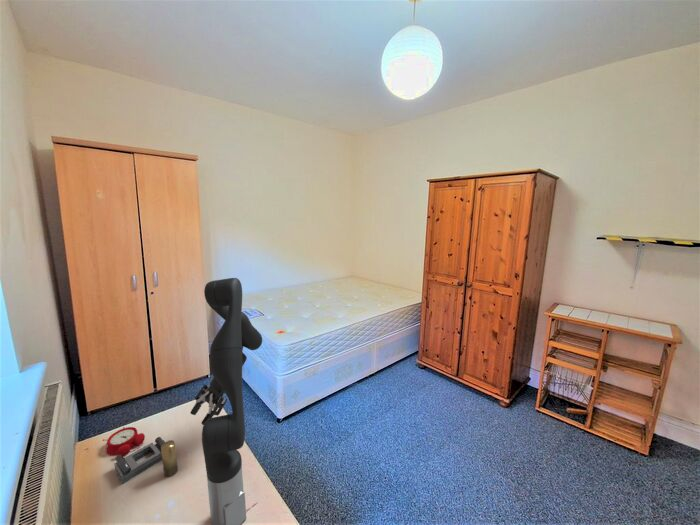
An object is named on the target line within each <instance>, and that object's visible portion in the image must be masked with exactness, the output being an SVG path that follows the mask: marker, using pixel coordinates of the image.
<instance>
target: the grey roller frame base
mask: <svg viewBox="0 0 700 525" xmlns="http://www.w3.org/2000/svg"><path fill="white" fill-rule="evenodd" d="M165 442H166V441H165V440H164V439H162V437H161V436H158V437H156V438H155V441H154V443H155V444H154V443H153V442H150V443H148V444H146V445H145V446H143V447H141V448H138V449H137V450H135V451H133V452H131V453H130V454H129V455H126V456H123V455H122V454H120V455H118V456H117V455H116V457H115V461H116V462H115V463H113V465H114V471H115V473H116V475H117V476H118V479H119V480H120V482H121V484H125V483H126V482H128V481H130V480H131V479H133V478H135V477H136V476H138V475H140V474H141V473H143V472H145V471H146V470H148V469H150V468H151V467H153V466H154V465H156V464H158V463H159V462H161V461H162V453H161V446H162V444H163V443H165ZM149 454H151V456H150V457H148V458H146V459H144V460H143V461H141V462H139V463H137V461H139V460H141V459H143V458H144V457H146V456H148V455H149Z"/></svg>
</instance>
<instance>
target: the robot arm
mask: <svg viewBox="0 0 700 525" xmlns="http://www.w3.org/2000/svg"><path fill="white" fill-rule="evenodd" d="M203 292H204V299H205V300H206V303H207V305H208V306H209V307H210V308H211V309H212V310H213V311H214V312H215V313H216V314H217V315H219V317H221V318H222V319H223V320H224V322H223V324H222V326H220V329H219V331H218V332H217V334H216V335H215V337H214V339H213V340H212V342H211V345H210V349H209V369H210V372H211V375H212V379H210V382H209V384H208V385H207V384H203V386H202V387H201V389H200V390H199V391H198V393H197V394H196V396H195V397H194V400H195V404H194V406H193V407H192V408H191V410H190V411H189V412H190V413H189V414H191V415H193V416H196V415H197V413H198V412H199V410H200V409H201V407H202V405H203V404H205V403H206V404H207V405H208V412H207V413H206V415H205V416H204V418H203V419H202V421H201V425H202V430H201V444H202V451H203V452H202V453H203V456H204V463H205V472H206V481H207V491H208V502H209V510H210V511H209V512H210V513H209V514H210V522H211V525H239V524H240V525H242V524H243V523H244V522H245V521H246V520H247V507H246V493H245V491H244V480H243V479H244V478H243V465H242V463H243V461H242V459H243V458H242V455H241V452H240V451H239V450H240V449H241V448H243V446H244V443H245V441H246V440H245V439H246V425H245V424H246V423H245V422H246V421H245V410H244V399H243V398H244V396H243V366H244V365H245V363H246V361H247V359H248V358H247V357H248V356H247V355H246V354H245V353H244V352H243V350H244V348H246V349H248V350H250V351H256V350H258V349H259V348H260V347H261V346H262V344H263V337H262V334H261V333H260V331H259V330H257V329H256V327H254V325H253V324H252V322H251V320H250V319H249V317H248V315H247V314H246V313H245V312H243V311H242V309H243V287H242V282H241V281H240V279H239V278H238V277H229V278H223V279H215V280H211V281H209V282H206V284H205V285H204V291H203ZM224 394H225V396H226V397H227V398H225V397H223V396H224ZM228 401H229V403H230V404H229V405H230V406H231V413H229V414H224V415H220V413H221V411H223V408H224V407H225V405H226V403H227V402H228ZM245 519H246V520H245ZM244 520H245V521H244ZM243 521H244V522H243ZM242 522H243V523H242Z"/></svg>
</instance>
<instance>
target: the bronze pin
mask: <svg viewBox="0 0 700 525" xmlns="http://www.w3.org/2000/svg"><path fill="white" fill-rule="evenodd" d="M161 453H162V460H161V461H162V469H163V475H164V478H171V477H173V476H175V475H176V474H177V473H178V470H179V469H178V468H179V467H178V461H177V453H176V443H175V441H174V440H173V439H172V440H171V439H170V440H167V441H165V443H163V444H162V446H161Z"/></svg>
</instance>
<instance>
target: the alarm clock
mask: <svg viewBox="0 0 700 525" xmlns="http://www.w3.org/2000/svg"><path fill="white" fill-rule="evenodd" d="M145 437H146V436H145V434H144V433H143V432H141V433H138V430H137V428H136V427H134V426H133V427H132V426H129V427H125V426H123V427H122V428H121V429H118V430H117V431H115V432H113V433H112V434H111V435H110V436H109V437H108V438H107V439H106V445H107V446H106V448H105V453H106V454H107V455H109V456H116V457H117V456H118V455H120V454H122V455H123V457H126V456H128V454H129V453H134V452H136V451H137V450H139V449H140V447H141V448H142V446H143V444H144V441H145ZM102 441H105V439H102ZM135 447H137V448H136V449H134V448H135ZM133 449H134V450H133Z"/></svg>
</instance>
